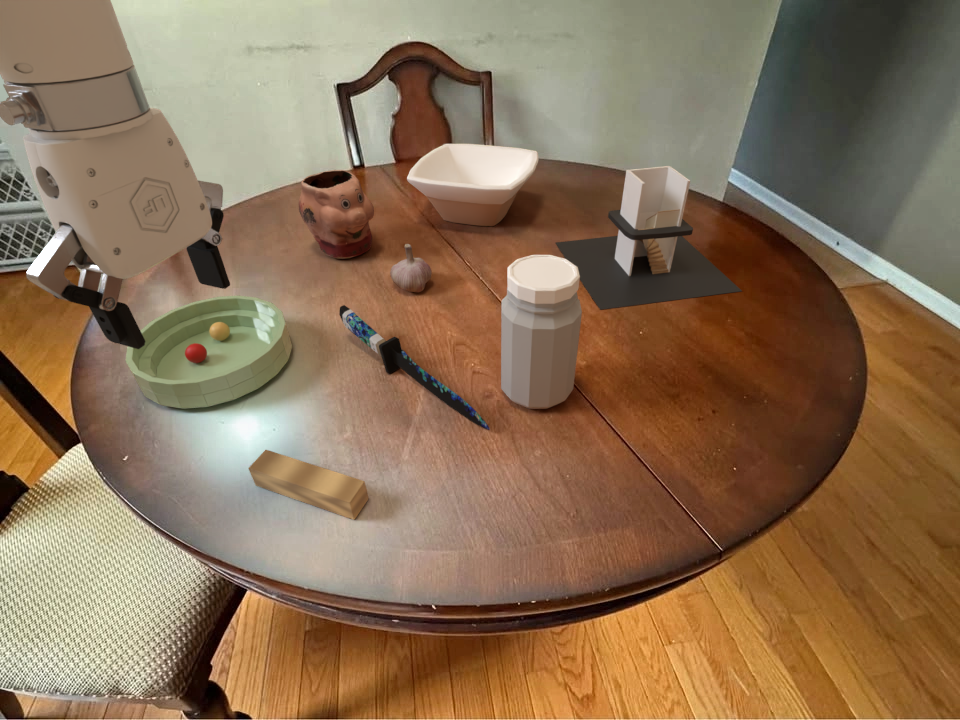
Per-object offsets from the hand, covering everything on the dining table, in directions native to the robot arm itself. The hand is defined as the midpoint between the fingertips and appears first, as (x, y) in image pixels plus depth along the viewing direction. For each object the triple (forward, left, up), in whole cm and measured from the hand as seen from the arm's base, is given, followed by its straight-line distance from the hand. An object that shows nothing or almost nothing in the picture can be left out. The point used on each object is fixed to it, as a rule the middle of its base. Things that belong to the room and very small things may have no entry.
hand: (175, 312), depth 48 cm
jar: (+37, +1, -24) cm, 44 cm away
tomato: (-5, +25, -20) cm, 32 cm away
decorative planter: (+22, +54, -24) cm, 63 cm away
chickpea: (0, +29, -20) cm, 36 cm away
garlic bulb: (+30, +34, -24) cm, 51 cm away
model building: (+70, +23, -24) cm, 77 cm away
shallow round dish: (-2, +25, -23) cm, 34 cm away
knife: (+22, +10, -24) cm, 34 cm away
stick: (+6, -4, -23) cm, 24 cm away
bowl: (+52, +57, -24) cm, 81 cm away
